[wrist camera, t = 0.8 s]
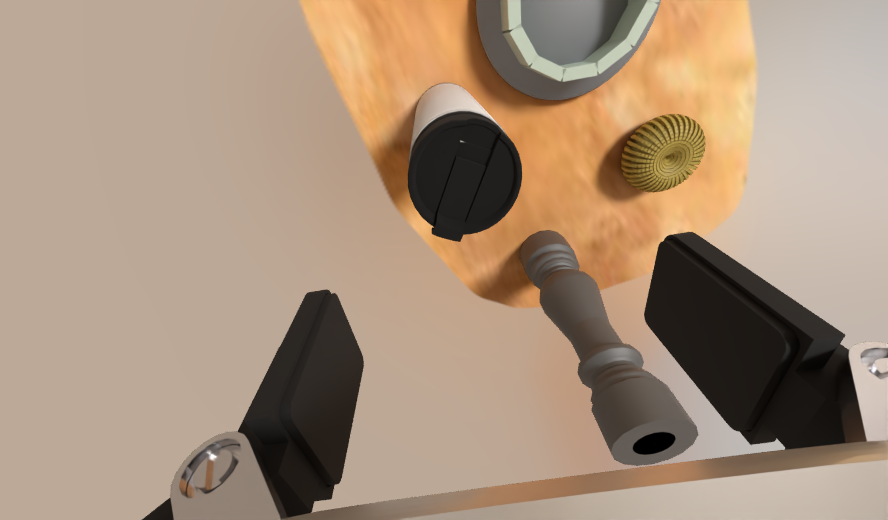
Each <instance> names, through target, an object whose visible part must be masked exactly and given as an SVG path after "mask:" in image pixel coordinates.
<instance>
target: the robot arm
mask: <svg viewBox="0 0 888 520" xmlns="http://www.w3.org/2000/svg"><path fill="white" fill-rule="evenodd" d="M644 316H645V321H646V323H647V325H648V326H649V327H650V329H651V330H652V331H653V333H654V334H655V335H656V336H657V337H658V339H659V340H660V341H661V342H662V344H663V345H664V346H665V347H666V348H667V350H668V351H669V352H670V354H671V355H672V356H673V357H674V358H675V360H676V361H677V362H678V363H679V365H680V366H681V367H682V368H683V370H684V371H685V372H686V373H687V375H688V376H689V377H690V378H691V379H692V381H693V382H694V383H695V384H696V386H697V387H698V388H699V389H700V391H701V392H702V393H703V394H704V395H705V397H706V398H707V399H708V400H709V402H710V403H711V404H712V405H713V406H714V408H715V409H716V410H717V412H718V413H719V414H720V415H721V416H722V418H723V419H724V420H725V421H726V423H727V424H728V425H729V426H730V427H731V428H732V429H734V430H736V431H740V432H741V434H742V435H743V436H744V437H745V439H746V440H747V441H748V442H749V443H750V444H751V445H752V444H760V443H767V442H774V441H775V440H776V438H777V439H778V440H779V441H780V442H781V443H782V444H783V445H784V447H785V450H778V451H770V452H761V453H754V454H745V455H738V456H729V457H721V458H714V459H705V460H697V461H689V462H681V463H673V464H665V465H656V466H649V467H640V468H633V469H626V470H617V471H609V472H601V473H594V474H586V475H578V476H570V477H563V478H555V479H547V480H539V481H532V482H524V483H516V484H509V485H502V486H494V487H486V488H479V489H471V490H464V491H456V492H449V493H442V494H434V495H427V496H419V497H412V498H405V499H397V500H389V501H383V502H376V503H370V504H363V505H357V506H350V507H344V508H338V509H331V510H324V511H319V512H313V513H311V512H312V508H313V504H314V501H320V500H329V499H332V494H333V489H334V485H335V484H339V483H340V481H341V478H342V473H343V468H344V463H345V458H346V453H347V448H348V443H349V438H350V433H351V428H352V423H353V418H354V413H355V408H356V402H357V397H358V392H359V387H360V382H361V377H362V372H363V366H364V365H363V364H364V361H363V356H362V353H361V351H360V348H359V346H358V344H357V341H356V339H355V336H354V334H353V332H352V329H351V327H350V325H349V322H348V320H347V318H346V315H345V313H344V310H343V308H342V305H341V303H340V301H339V298H338V296H337V295H336V294H335V293H334V294H331V292H330V291H329V290H321V291H315V292H309V293H307V294H306V295H305V297H304V299H303V301H302V304H301V305H300V308H299V310H298V312H297V314H296V316H295V318H294V320H293V322H292V324H291V326H290V328H289V330H288V332H287V334H286V336H285V338H284V340H283V342H282V344H281V346H280V347H279V349H278V351H277V353H276V355H275V357H274V359H273V361H272V363H271V365H270V367H269V369H268V371H267V373H266V375H265V377H264V379H263V381H262V383H261V385H260V387H259V389H258V391H257V393H256V395H255V398H254V399H253V401H252V404H251V406H250V407H249V409H248V412H247V413H246V416H245V418H244V420H243V422H242V424H241V426H240V428H239V430H238V432H226V433H223V434H220V435H217V436H215V437H213V438H211V439H210V440H208V441H206V442H204V443H203V444H202V445H201V446H200V447H198V448H197V449H196V450H194V451H193V452H192V453H191V455H189V457H188V458H187V459H186V460H185V461H184V462H183V463H182V465H181V466H180V468H179V469H178V471H177V472H176V474H175V477H174V479H173V482H172V484H171V494H170V498H169V499H168V500H166V501H165V502H164V503H163V504H161V505H160V506H159V507H157V508H156V509H155V510H154V511H152V512H151V513H150V514H149V515H147V516H146V517H145V518H144V519H142V520H888V343H883V342H863V343H859V344H855V345H854V346H853V347H852V348H850V349H849V350H848V349H847V348H845V347H844V346H842V345H841V344H840V343H841V341H842V340H843V338H844V337H845V334H843V333H842V332H840V331H839V330H837V329H836V328H834V327H833V326H832V325H830V324H829V323H827V322H826V321H824V320H823V319H821V318H820V317H818V316H817V315H815V314H814V313H812V312H811V311H809V310H808V309H806V308H805V307H803V306H802V305H800V304H799V303H797V302H796V301H794V300H793V299H792V298H790V297H789V296H787V295H786V294H784V293H783V292H781V291H780V290H778V289H777V288H775V287H774V286H772V285H771V284H769V283H768V282H766V281H765V280H763V279H762V278H760V277H759V276H758V275H756V274H754V273H753V272H752V271H750V270H749V269H747V268H746V267H744V266H743V265H741V264H740V263H738V262H737V261H735V260H734V259H732V258H731V257H729V256H728V255H726V254H725V253H723V252H722V251H720V250H719V249H718V248H716V247H715V246H713V245H712V244H710V243H709V242H707V241H706V240H704V239H703V238H701V237H700V236H698V235H697V234H695V233H693V232H686V233H680V234H674V235H669V236H667V237H666V238H665V240H664V241H663V242H661V243H660V244H659V247H658V251H657V256H656V261H655V265H654V270H653V275H652V279H651V284H650V289H649V294H648V298H647V303H646V308H645V313H644Z"/></svg>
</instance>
